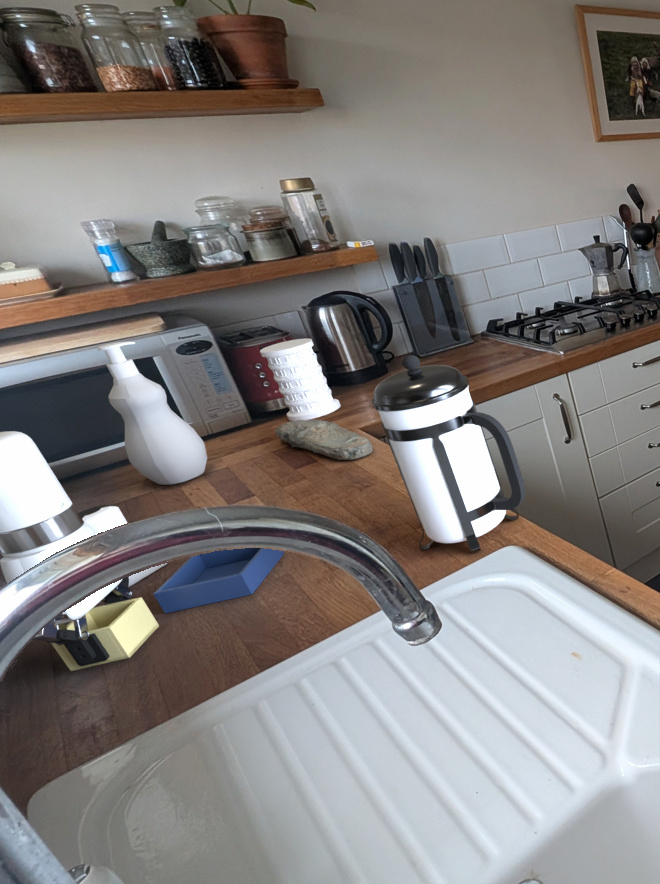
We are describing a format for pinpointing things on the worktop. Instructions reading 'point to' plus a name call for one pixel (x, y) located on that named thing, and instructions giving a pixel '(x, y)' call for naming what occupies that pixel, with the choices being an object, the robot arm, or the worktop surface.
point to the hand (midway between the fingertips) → (113, 642)
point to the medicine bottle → (109, 519)
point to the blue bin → (216, 577)
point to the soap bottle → (152, 425)
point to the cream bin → (115, 630)
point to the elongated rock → (325, 439)
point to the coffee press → (446, 453)
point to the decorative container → (300, 379)
